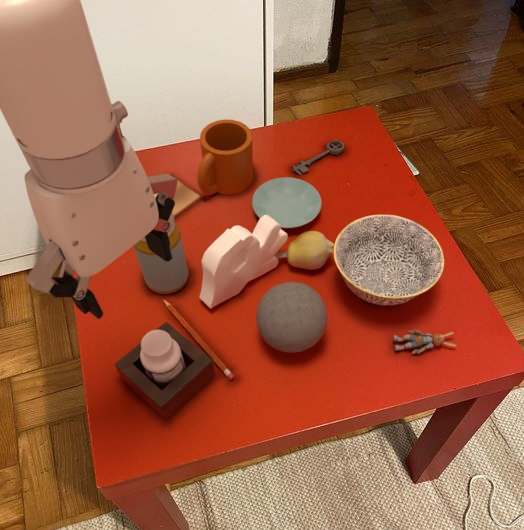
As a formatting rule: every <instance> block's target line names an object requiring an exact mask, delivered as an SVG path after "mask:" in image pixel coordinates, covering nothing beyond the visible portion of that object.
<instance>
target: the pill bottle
mask: <svg viewBox="0 0 524 530" xmlns="http://www.w3.org/2000/svg"><path fill="white" fill-rule="evenodd" d="M140 343H141V348H142V349H141V353H140V358H141V362H142V365H143V367H144V369H145V371H146V373H145V375H146V377H148V378H149V379H150V380H151V381H152V382H153V383H154V384H155V385H156V386H157V387H159V388H160V389H161V390H163V389H164V388H165V387H166V386H167V385H169V384H170V383H171V382H172V381H173V380H174V379H175V378H176V377H178V376H179V375H180V374H181V373H182V372H183V371H184V370H185V369H187V366H186V365H185V363H184V360H183V357H182V353H181V350H180V347H179V345H178V343H177V342H176V341H175V340H173V339H172V338H171V337H170V335H169V334H168V333H167V332H165V331H163V330H156V329H153V330H150V331H149V332H146V333H145V335H144V336H143V337H142V338H141V341H140Z"/></svg>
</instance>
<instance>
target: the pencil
mask: <svg viewBox="0 0 524 530" xmlns="http://www.w3.org/2000/svg"><path fill="white" fill-rule="evenodd" d="M162 300H163V302H164V304H165V306H166V309H168V310H169V312H170V313H171V314H172V315H173V316H174V317H175V319H176V320H177V321H178V322H179V323H180V324H181V326H182V327H184V329H185V330H186V331H187V332H188V334H190V336H191V337H192V338H193V339H194V340H195V341H196V342H197V344H199V346H200V347H201V348H202V349H203V351H204V352H205V353H206V355H207V356H208V357H209V358H210V359H212V360H213V363H215V364H216V365H217V367H219V369H220V370H221V372H223V373H224V375H225V376H226V377H227V378H228V379H229V380H230V381H232V380H233V379H234V378H235V375H234V374H233V372H231V370H230V369H229V368H228V367H227V366H226V365H225V364H224V363H223V362H222V360H221V358H219V357H218V356H217V355H216V353H214V351H213V350H212V349H211V347H209V346H208V345H207V343H206V342H205V341H204V340H203V338H202V337H201V336H200V335H199V334H198V333H197V332H196V331H195V330H194V329H193V327H192V326H191V325H190V324H189V323H188V321H186V320H185V318H184V317H183V316H182V315H181V314H180V313H179V311H178V310H177V309H176V308H175V307H174V306H173V305H172V304H171V303H169V302H168V301H167V300H166V299H163V298H162Z"/></svg>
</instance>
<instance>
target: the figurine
mask: <svg viewBox="0 0 524 530" xmlns="http://www.w3.org/2000/svg"><path fill="white" fill-rule="evenodd" d="M454 334H455V332H454V331H451V332H448V333H445V334H443V333H434V334H431V333H424V332H422V331H421V330H418V329H412V330H411V329H410V330H408V334H405V335H403V336H402V337H400V336H398V335H397V334H394V335H393V336H392V340H393V342H397V343H400V342H404V341H406V343H404V344H402V345H398V344H395V345H394V351H395V352H397V351H402V350H405V349H406V350H408V349H410V350H411V349H413V351H412V352H411V354H412V355H416V354H417V355H419V354H421V353H423V352H424V351H426V350H428V349H432V348H434V346H440V345H446V346H448V347H452V348H453V347H454V348H456V347H458V344H456V343H455V342H454V343H453V342H450V341H445V338H446V337H450V336H453V335H454ZM424 345H425V346H424Z"/></svg>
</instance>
